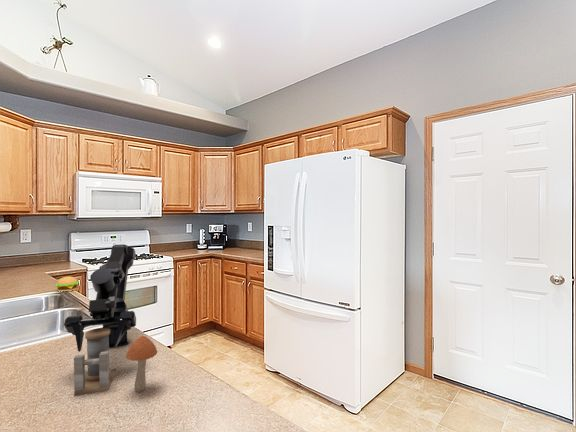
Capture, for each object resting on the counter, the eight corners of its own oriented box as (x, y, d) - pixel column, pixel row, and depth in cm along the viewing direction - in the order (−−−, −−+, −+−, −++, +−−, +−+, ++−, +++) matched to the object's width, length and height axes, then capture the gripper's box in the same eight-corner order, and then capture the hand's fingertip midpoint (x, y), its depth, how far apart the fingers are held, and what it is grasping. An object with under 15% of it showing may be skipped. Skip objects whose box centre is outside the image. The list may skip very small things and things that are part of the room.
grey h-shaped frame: (86, 375, 98) (85, 342, 98) (116, 371, 101) (115, 339, 100) (74, 395, 88) (73, 358, 87) (107, 390, 90) (107, 354, 90)
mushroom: (164, 384, 93) (163, 332, 93) (143, 400, 85) (142, 342, 85) (141, 380, 96) (140, 328, 95) (119, 394, 88) (118, 339, 88)
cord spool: (105, 368, 101) (104, 326, 100) (115, 374, 97) (114, 330, 96) (82, 376, 96) (81, 332, 95) (91, 383, 92) (90, 337, 91)
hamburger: (82, 288, 210) (82, 274, 209) (72, 292, 198) (72, 278, 198) (62, 288, 208) (62, 275, 208) (51, 293, 196) (51, 279, 196)
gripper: (65, 289, 97) (51, 341, 87) (134, 285, 102) (128, 333, 92) (74, 308, 105) (62, 357, 94) (138, 303, 110) (133, 349, 100)
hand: (97, 349), depth 95 cm, fingers open, 9 cm apart
